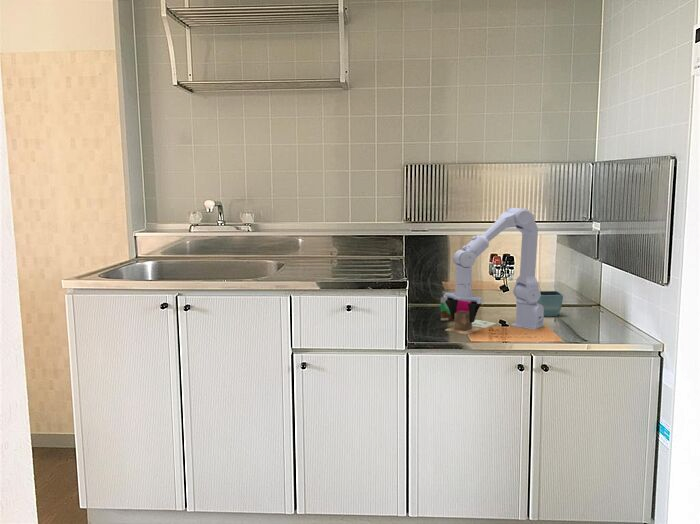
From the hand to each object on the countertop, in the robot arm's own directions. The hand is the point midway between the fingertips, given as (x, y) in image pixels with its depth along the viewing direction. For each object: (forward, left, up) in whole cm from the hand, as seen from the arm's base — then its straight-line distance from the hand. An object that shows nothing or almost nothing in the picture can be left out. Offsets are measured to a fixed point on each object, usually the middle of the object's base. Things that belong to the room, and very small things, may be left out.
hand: (462, 320), depth 229 cm
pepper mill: (+15, -24, -4) cm, 29 cm away
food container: (+13, -11, -4) cm, 17 cm away
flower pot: (-13, -42, -4) cm, 44 cm away
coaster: (0, 0, -4) cm, 4 cm away
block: (0, 0, -3) cm, 3 cm away
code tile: (0, -12, -4) cm, 13 cm away
